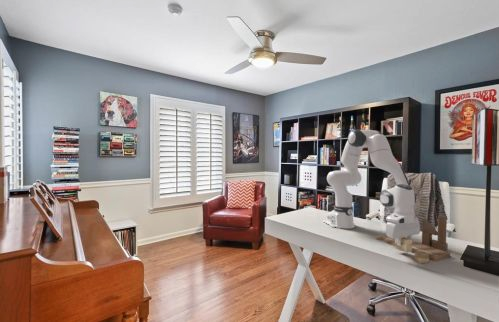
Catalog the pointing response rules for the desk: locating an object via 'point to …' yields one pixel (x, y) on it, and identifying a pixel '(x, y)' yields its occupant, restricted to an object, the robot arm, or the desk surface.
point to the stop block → (421, 257)
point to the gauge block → (404, 244)
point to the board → (419, 248)
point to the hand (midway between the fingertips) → (403, 244)
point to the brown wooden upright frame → (435, 233)
